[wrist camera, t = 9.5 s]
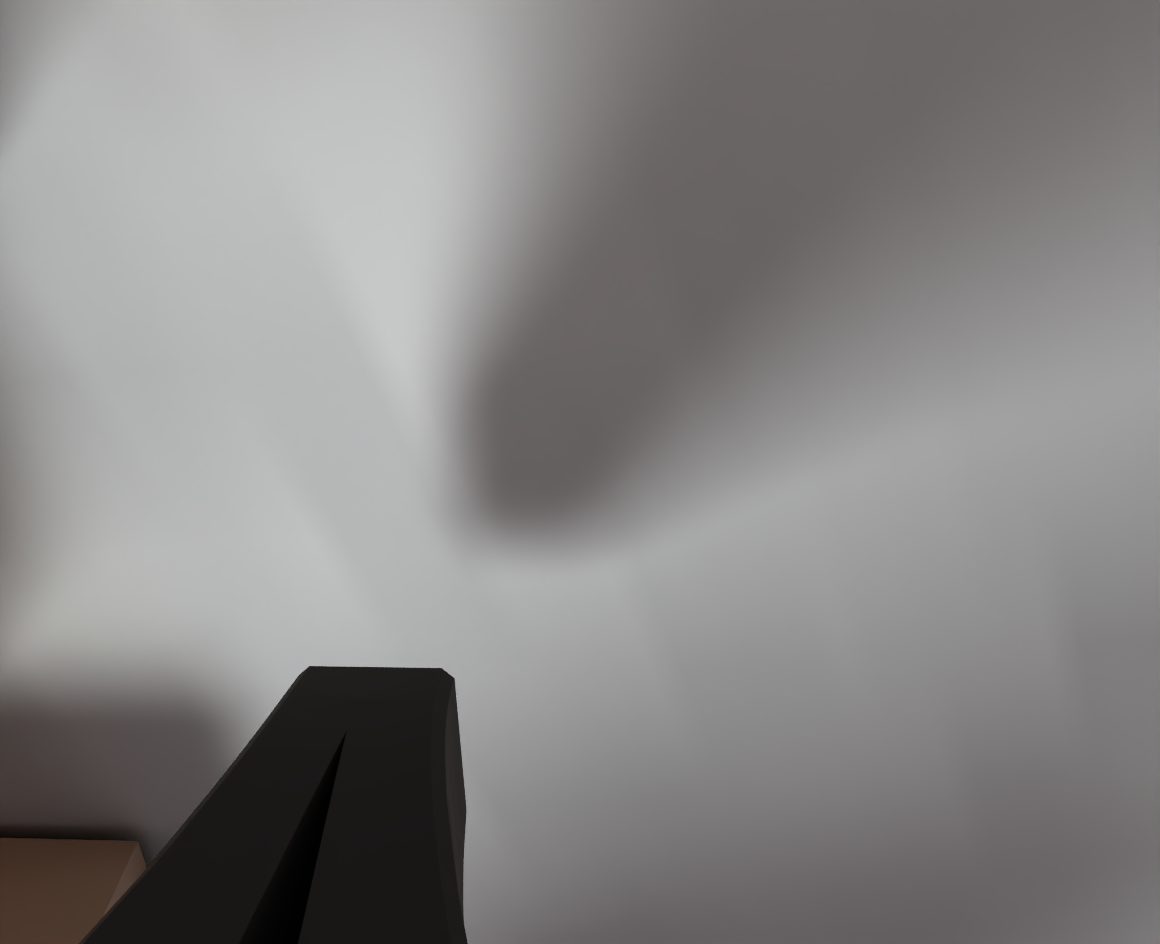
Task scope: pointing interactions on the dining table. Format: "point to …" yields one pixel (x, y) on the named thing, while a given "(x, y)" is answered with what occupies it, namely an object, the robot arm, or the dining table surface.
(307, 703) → the robot arm
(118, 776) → the dining table surface
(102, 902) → the tray
